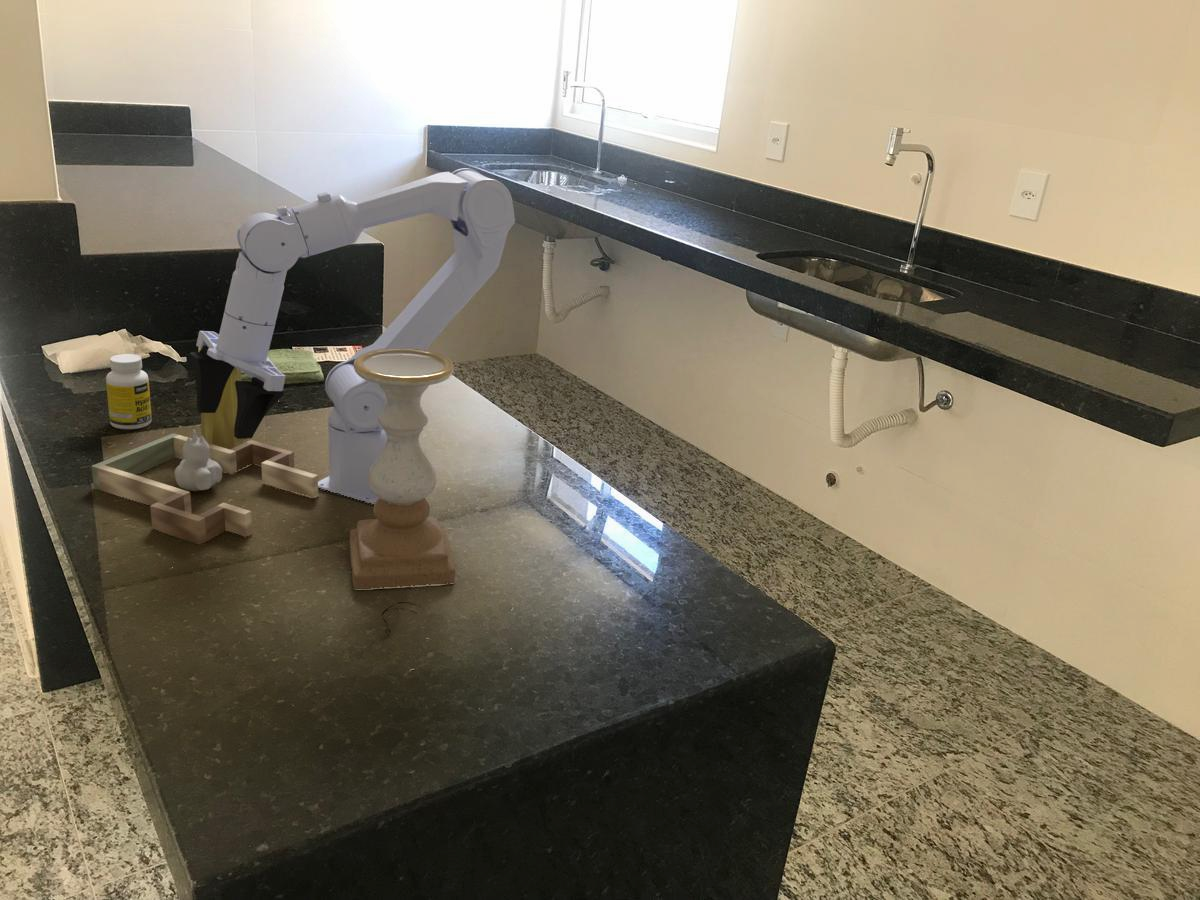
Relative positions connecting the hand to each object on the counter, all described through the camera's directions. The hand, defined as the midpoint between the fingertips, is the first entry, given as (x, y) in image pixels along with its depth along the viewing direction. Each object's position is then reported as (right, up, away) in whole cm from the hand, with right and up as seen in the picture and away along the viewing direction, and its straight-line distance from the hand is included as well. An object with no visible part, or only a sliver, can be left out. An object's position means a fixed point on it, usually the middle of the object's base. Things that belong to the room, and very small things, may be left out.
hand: (224, 424), depth 117 cm
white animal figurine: (-5, -8, +5) cm, 11 cm away
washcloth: (-11, +9, +47) cm, 49 cm away
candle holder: (+23, -16, -7) cm, 28 cm away
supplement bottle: (-22, +1, +22) cm, 31 cm away
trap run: (-4, -8, +5) cm, 10 cm away
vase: (-7, -3, +18) cm, 19 cm away
